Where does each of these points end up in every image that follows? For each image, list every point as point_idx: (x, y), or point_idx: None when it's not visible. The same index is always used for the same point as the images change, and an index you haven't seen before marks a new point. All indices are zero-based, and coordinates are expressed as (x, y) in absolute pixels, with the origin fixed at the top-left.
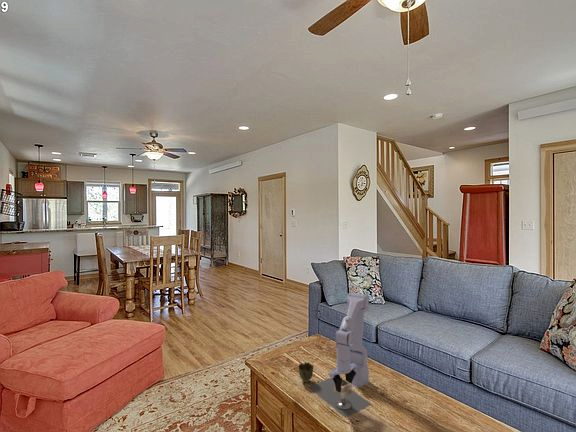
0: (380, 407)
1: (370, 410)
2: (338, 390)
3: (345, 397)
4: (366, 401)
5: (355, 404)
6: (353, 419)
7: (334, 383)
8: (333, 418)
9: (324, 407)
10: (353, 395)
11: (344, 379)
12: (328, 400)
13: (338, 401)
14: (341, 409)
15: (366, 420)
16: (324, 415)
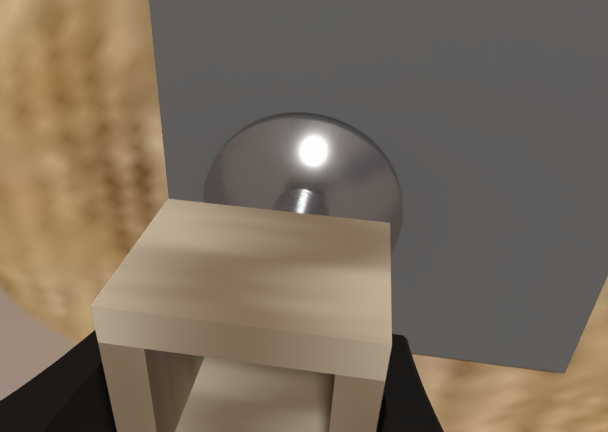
0: (586, 418)
1: (470, 387)
2: None
3: None
4: (568, 321)
5: (421, 280)
6: None
7: (107, 295)
8: (86, 256)
9: (86, 85)
10: (572, 166)
11: (374, 385)
12: (195, 29)
13: (277, 153)
14: None
15: None
16: (23, 179)
